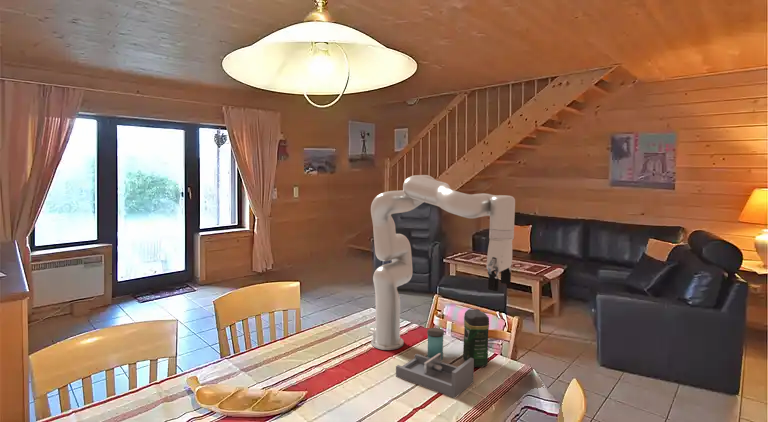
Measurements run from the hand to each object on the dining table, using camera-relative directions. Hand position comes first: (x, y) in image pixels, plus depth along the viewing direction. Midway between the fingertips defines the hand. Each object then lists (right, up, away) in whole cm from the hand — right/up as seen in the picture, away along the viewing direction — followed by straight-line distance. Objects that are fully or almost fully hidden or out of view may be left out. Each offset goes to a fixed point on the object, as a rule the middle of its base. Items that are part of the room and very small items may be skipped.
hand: (499, 286), depth 142 cm
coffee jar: (-5, -30, +16) cm, 34 cm away
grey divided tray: (-21, -31, +3) cm, 37 cm away
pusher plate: (-20, -30, +2) cm, 36 cm away
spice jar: (-19, -29, +19) cm, 39 cm away
